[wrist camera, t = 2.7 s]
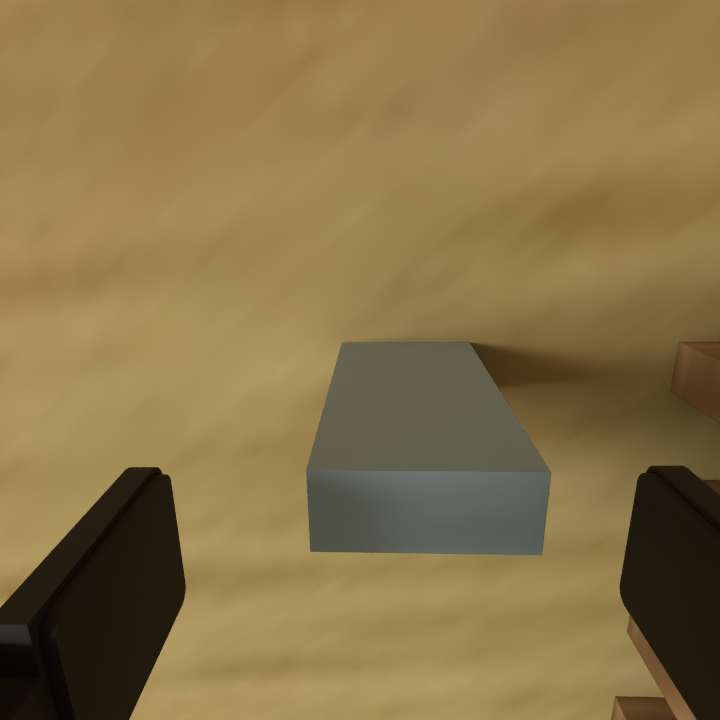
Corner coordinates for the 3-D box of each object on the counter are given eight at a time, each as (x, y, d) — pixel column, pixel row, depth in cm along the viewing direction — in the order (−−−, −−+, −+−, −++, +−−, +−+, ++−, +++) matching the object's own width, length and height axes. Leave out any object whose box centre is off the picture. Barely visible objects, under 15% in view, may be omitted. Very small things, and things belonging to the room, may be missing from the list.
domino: (341, 342, 20) (306, 470, 11) (469, 342, 20) (551, 472, 10) (343, 390, 21) (310, 551, 11) (466, 390, 20) (542, 555, 11)
